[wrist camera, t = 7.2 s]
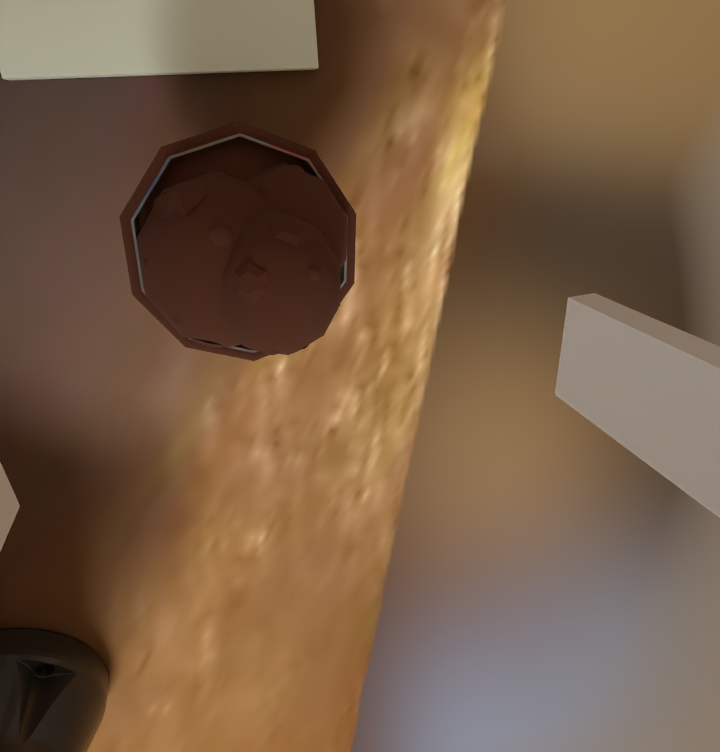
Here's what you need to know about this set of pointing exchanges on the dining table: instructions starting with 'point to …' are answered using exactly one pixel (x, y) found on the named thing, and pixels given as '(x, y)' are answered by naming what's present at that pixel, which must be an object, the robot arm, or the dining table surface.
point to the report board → (154, 37)
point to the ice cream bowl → (240, 243)
